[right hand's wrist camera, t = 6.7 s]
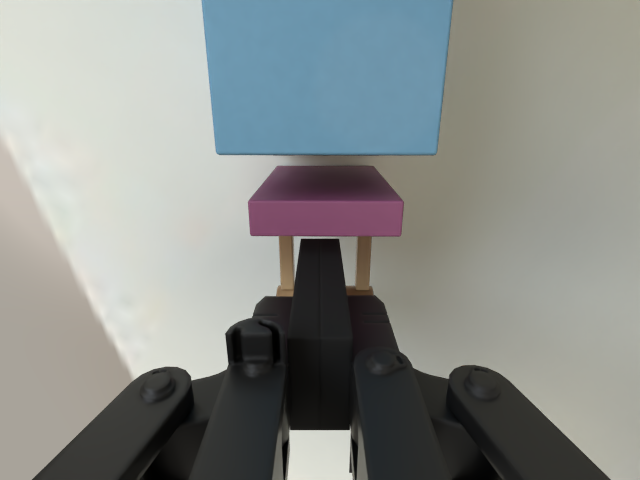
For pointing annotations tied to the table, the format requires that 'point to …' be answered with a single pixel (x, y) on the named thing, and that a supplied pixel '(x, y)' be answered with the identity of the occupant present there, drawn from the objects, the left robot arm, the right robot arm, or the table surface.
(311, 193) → the drawer
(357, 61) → the cabinet
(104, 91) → the table surface
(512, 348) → the table surface
